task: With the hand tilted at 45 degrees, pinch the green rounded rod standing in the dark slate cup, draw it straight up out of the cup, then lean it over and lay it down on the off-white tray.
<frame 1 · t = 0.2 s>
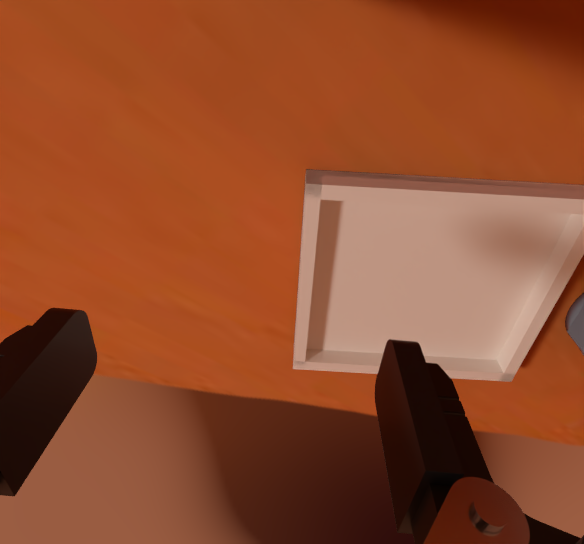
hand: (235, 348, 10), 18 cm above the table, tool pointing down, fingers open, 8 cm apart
tray: (418, 279, 31), on the table
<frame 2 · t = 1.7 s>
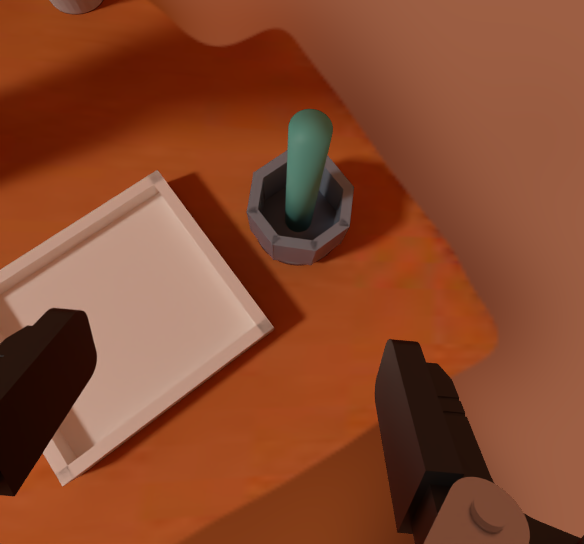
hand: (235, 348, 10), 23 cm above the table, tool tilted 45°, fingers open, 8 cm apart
green rounded rod: (298, 219, 34), point 1 cm above the table, touching cup
tray: (126, 316, 33), on the table
cup: (297, 223, 35), on the table
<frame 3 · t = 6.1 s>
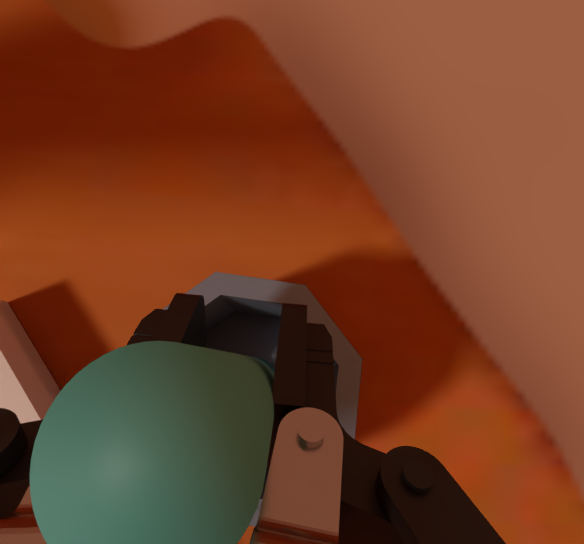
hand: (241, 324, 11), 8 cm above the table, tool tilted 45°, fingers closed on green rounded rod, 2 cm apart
green rounded rod: (252, 384, 18), point 1 cm above the table, touching cup, gripper
cup: (253, 382, 19), on the table
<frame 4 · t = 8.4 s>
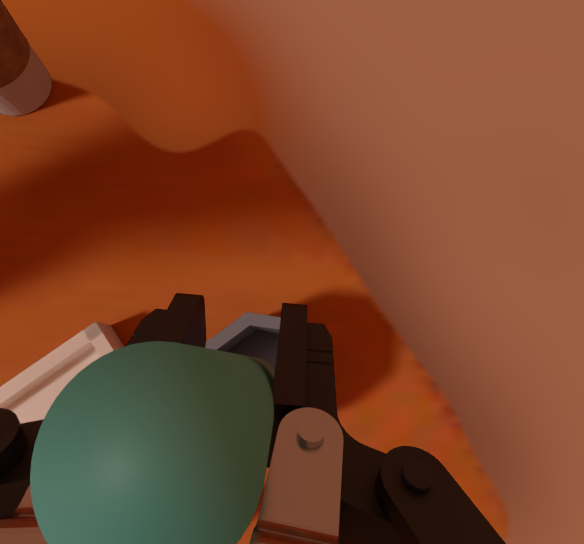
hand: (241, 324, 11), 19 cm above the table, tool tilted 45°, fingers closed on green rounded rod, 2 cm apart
green rounded rod: (252, 384, 18), point 12 cm above the table, touching gripper
coffee cup: (20, 89, 35), on the table
tray: (56, 501, 27), on the table
cup: (266, 375, 30), on the table
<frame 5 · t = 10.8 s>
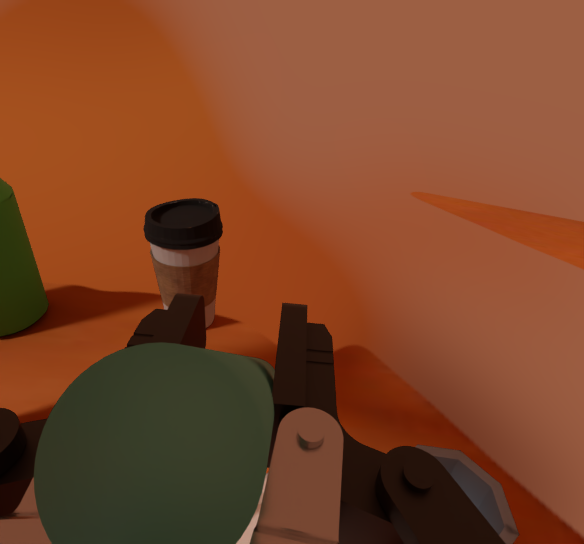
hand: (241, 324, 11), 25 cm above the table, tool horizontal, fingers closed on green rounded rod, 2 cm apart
bottle: (9, 318, 47), on the table
green rounded rod: (252, 384, 18), point 18 cm above the table, tilted 45°, touching gripper
coffee cup: (191, 319, 50), on the table
cup: (430, 537, 30), on the table
when the fingers open (9 cm above the table, at t = 14.0 s): green rounded rod moves 1 cm and tips over, resting on tray.
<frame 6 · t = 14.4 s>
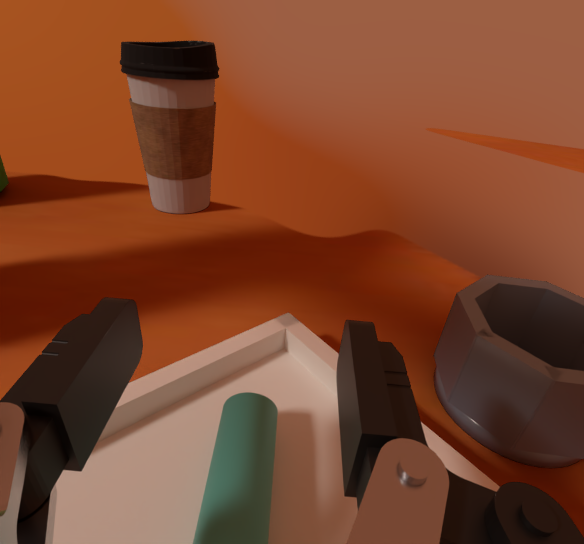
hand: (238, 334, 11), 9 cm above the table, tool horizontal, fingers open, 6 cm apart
green rounded rod: (250, 411, 17), point 2 cm above the table, tilted 90°, touching tray
coffee cup: (181, 204, 41), on the table
cup: (507, 399, 21), on the table
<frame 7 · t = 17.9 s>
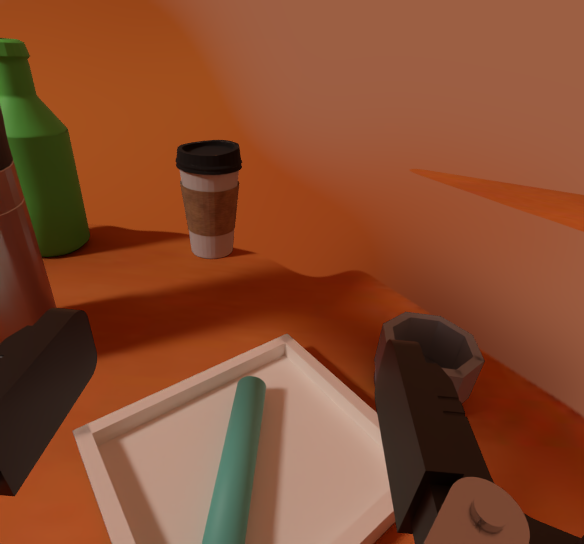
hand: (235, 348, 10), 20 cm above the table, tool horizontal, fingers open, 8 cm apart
bottle: (57, 246, 54), on the table
green rounded rod: (251, 386, 32), point 2 cm above the table, tilted 90°, touching tray
coffee cup: (212, 250, 57), on the table
tray: (253, 470, 28), on the table
cup: (416, 386, 36), on the table
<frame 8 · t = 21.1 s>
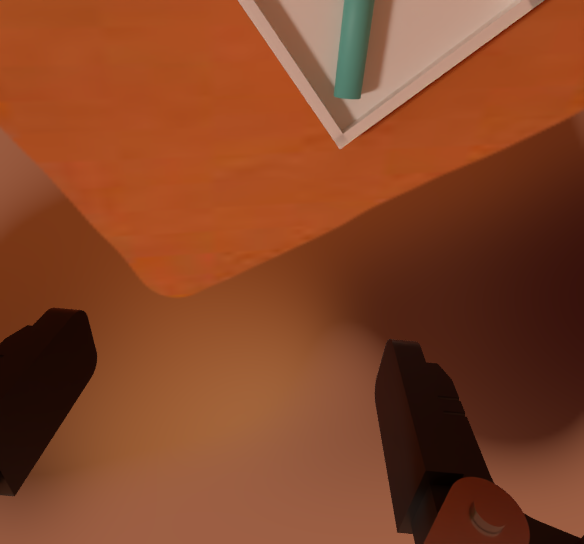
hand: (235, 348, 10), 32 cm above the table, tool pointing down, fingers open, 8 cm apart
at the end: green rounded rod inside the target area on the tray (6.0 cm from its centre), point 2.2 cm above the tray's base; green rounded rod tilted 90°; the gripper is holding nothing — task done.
